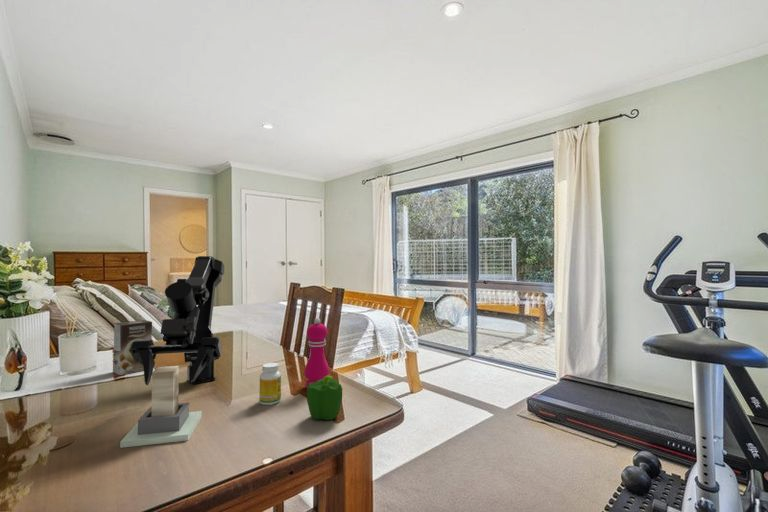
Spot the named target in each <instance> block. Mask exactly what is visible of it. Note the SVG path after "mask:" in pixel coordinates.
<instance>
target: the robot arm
mask: <svg viewBox="0 0 768 512" xmlns="http://www.w3.org/2000/svg"><path fill="white" fill-rule="evenodd" d="M223 275H225V264H224V262H223V261H222V260H219V259H216V258H215V257H214V256H210V255H208V256H207V255H206V256H205V255H198V256H196V257H195V260H194V265H193V268H192V270H191V271H190V274H189V277H188V278H177V280H176V281H175V282H173V283H171V284H169V285H168V286H167V287H166V288H165V290H164V294H165V297H166V300H167V303H168V306H169V309H170V311H171V312H173V315H172V316H173V317H172V318H169V319H168V318H166V319H165V318H164V319H162V322H161V325H160V326H161V328H160V333H159V334H160V335H162V341H163V342H165V344H155V343H154V342H153V339H152V340H135V341H134V342H133V343H132V344H131V346H130V348H129V351H130V353H131V355H132V357H133V358H134V360H135V362H138V363H140V364H141V365H143V369H144V370H143V377H144V378H143V379H144V384H145V386H149V384H150V383H151V381H152V372H153V371H154V370H155V365H156V362H155V359H156V357H157V355H159V354H160V355H161V354H162V355H163V354H183V355H184V363H189V365H187V370H186V373H187V377H186V378H187V380H188V381H189V383H191V384H192V385H196V383H197V384H200V383H201V382H202V383H206V382H205V381H207V382H212V381H216V380H217V379H216V377H215V361H216V360H219V359H220V358H221V356H222V344H221V340H220V338H219V337H218V336H215V335H214V333H213V331H212V321H213V312H214V302H215V295H216V288H217V286H219V284H220V283H221V282H222V281H223ZM215 379H216V380H215ZM211 380H212V381H211Z"/></svg>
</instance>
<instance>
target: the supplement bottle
mask: <svg viewBox="0 0 768 512" xmlns="http://www.w3.org/2000/svg"><path fill="white" fill-rule="evenodd" d="M279 367H280V366H279V363H278V362H267V363H264V364H263V365H262V369H261V370H262V372H261V373H260V374H259V389H258V390H259V397H258V401H259V403H260V404H261V405H264V406H273V405H276V404H279V402H281V399H282V397H281V396H282V392H281V391H282V384H281V383H282V374H281V372H280V371H279Z"/></svg>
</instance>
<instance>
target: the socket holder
mask: <svg viewBox="0 0 768 512" xmlns="http://www.w3.org/2000/svg"><path fill="white" fill-rule="evenodd" d="M202 412H203V411H202V410H199V411H198V410H197V411H190V402H181V403H179V402H178V412H177V414H176V415H169V416H158V417H151V415H152V405H151V406H150V407H149V408H148V409H147V410H146V411H145V412H144V413H143V414H142V415H141V416H140V417H139V419H137V423H136V424H135V425H134V426H133V427H132V429H130V431H129V432H128V433H127V434H126V435H125V436H124V437H123V438H122V439H121V440H120V441H119V442H120V443H119V444H120V446H119V447H120V449H122V448H129V447H130V448H131V447H139V446H140V447H141V446H148V445H157V444H158V445H159V444H166V443H167V444H168V443H176V442H177V443H178V442H187V441H189V439H190V438H191V436H192V434H193V433H194V430H195V429H196V427H197V426H198V424H199V422H200V421H201V419H202V416H203V415H202V414H203V413H202Z"/></svg>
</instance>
